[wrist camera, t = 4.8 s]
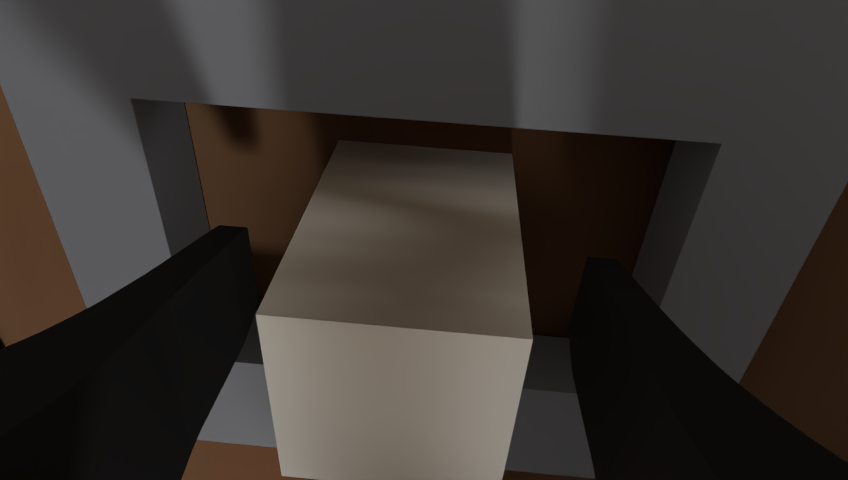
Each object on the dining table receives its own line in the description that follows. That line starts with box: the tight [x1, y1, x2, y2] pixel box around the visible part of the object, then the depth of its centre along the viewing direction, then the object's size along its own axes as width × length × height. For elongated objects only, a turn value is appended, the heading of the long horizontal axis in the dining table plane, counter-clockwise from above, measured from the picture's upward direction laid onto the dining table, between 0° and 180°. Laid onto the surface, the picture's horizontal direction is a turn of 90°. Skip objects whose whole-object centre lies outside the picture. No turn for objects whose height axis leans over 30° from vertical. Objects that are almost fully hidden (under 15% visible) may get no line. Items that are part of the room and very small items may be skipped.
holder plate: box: [0, 0, 848, 479], centre depth 13 cm, size 16×14×2 cm
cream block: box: [256, 140, 533, 480], centre depth 12 cm, size 4×4×6 cm
